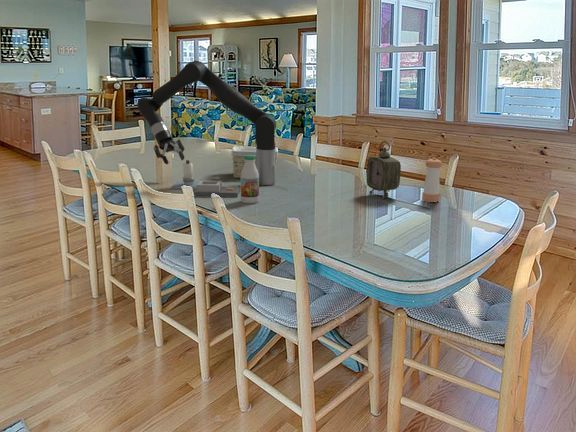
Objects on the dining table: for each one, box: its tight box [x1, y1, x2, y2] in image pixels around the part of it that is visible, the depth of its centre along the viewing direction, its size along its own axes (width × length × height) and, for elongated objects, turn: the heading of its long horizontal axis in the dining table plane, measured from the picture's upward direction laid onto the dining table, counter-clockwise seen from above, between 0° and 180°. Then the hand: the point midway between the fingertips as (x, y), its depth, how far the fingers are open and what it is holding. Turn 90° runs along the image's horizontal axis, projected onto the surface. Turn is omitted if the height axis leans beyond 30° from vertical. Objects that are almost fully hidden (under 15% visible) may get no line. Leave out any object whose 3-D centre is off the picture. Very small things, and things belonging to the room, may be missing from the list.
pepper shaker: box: [421, 157, 443, 203], centre depth 238 cm, size 7×7×19 cm
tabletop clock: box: [366, 140, 402, 200], centre depth 244 cm, size 14×9×25 cm, turn 24°
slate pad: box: [170, 180, 200, 191], centre depth 260 cm, size 14×14×1 cm
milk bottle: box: [240, 155, 260, 205], centre depth 231 cm, size 8×8×20 cm
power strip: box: [192, 180, 241, 198], centre depth 246 cm, size 20×12×5 cm, turn 90°
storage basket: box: [231, 145, 279, 179], centre depth 287 cm, size 24×16×15 cm
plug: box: [182, 159, 195, 185], centre depth 259 cm, size 5×5×12 cm
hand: (175, 161), depth 267 cm, fingers open, 8 cm apart
